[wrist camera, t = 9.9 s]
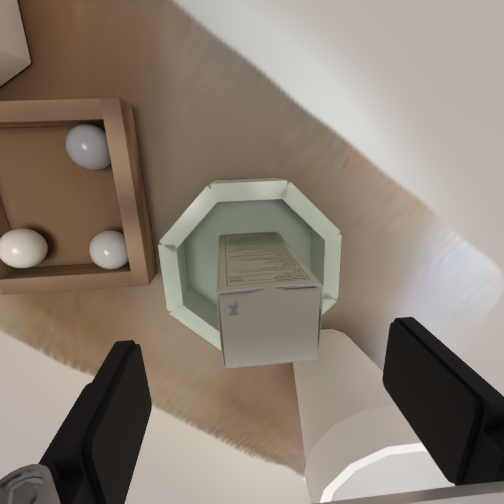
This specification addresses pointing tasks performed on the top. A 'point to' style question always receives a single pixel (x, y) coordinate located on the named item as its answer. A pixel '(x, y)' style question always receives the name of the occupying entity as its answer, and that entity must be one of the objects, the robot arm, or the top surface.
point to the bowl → (234, 222)
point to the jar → (12, 41)
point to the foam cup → (356, 428)
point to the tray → (127, 187)
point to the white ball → (109, 250)
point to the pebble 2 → (88, 147)
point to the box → (266, 302)
